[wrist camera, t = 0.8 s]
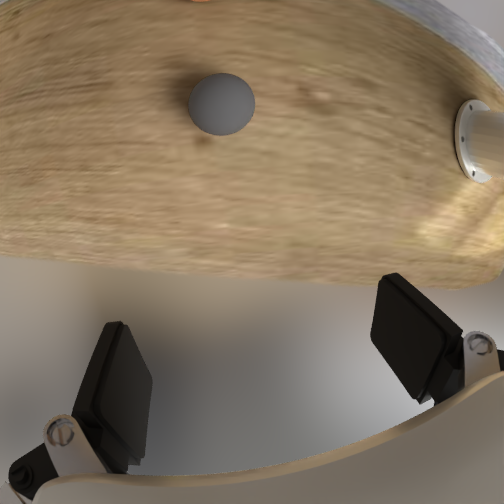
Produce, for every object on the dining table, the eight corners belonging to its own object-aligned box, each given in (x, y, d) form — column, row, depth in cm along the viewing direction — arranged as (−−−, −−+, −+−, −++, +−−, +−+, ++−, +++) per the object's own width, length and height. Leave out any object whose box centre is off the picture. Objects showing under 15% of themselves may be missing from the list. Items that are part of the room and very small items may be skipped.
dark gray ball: (245, 77, 22) (254, 62, 17) (253, 131, 24) (265, 129, 19) (186, 86, 22) (181, 72, 17) (195, 141, 24) (191, 141, 19)
